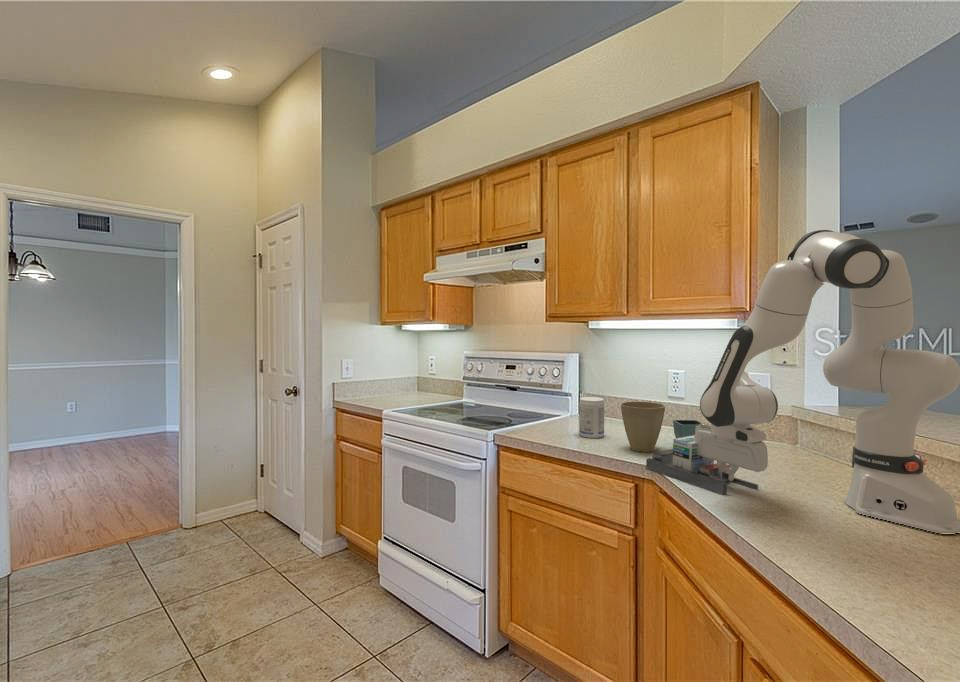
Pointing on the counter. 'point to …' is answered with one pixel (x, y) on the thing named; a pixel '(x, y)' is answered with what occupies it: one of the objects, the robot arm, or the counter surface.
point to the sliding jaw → (713, 471)
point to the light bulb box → (688, 455)
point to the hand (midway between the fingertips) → (727, 479)
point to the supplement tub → (591, 417)
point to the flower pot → (684, 427)
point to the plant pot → (642, 423)
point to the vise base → (689, 473)
